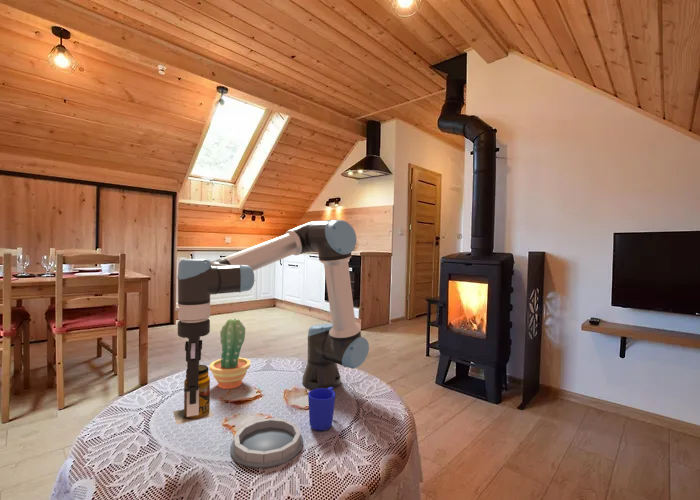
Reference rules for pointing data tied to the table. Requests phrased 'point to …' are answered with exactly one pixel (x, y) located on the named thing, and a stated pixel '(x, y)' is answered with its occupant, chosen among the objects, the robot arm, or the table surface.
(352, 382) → the table surface
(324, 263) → the robot arm
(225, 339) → the potted cactus
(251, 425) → the bowl
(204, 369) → the condiment
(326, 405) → the mug
